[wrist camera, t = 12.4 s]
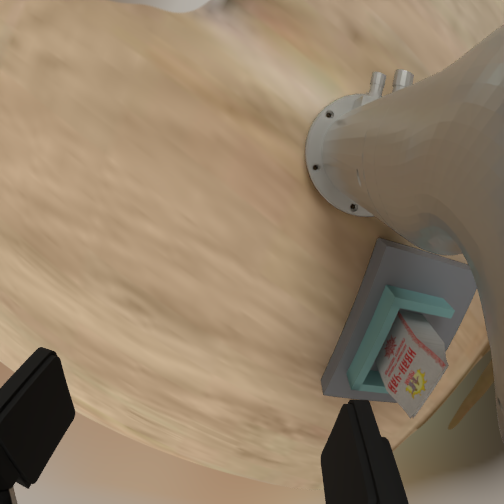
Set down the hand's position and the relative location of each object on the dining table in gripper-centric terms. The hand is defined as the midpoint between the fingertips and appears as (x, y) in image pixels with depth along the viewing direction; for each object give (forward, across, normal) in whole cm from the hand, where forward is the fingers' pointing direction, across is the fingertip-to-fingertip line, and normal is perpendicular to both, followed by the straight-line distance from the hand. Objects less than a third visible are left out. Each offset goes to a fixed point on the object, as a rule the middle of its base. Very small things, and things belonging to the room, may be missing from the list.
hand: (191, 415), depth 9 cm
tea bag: (+23, -19, +10) cm, 31 cm away
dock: (+26, -20, +10) cm, 34 cm away
